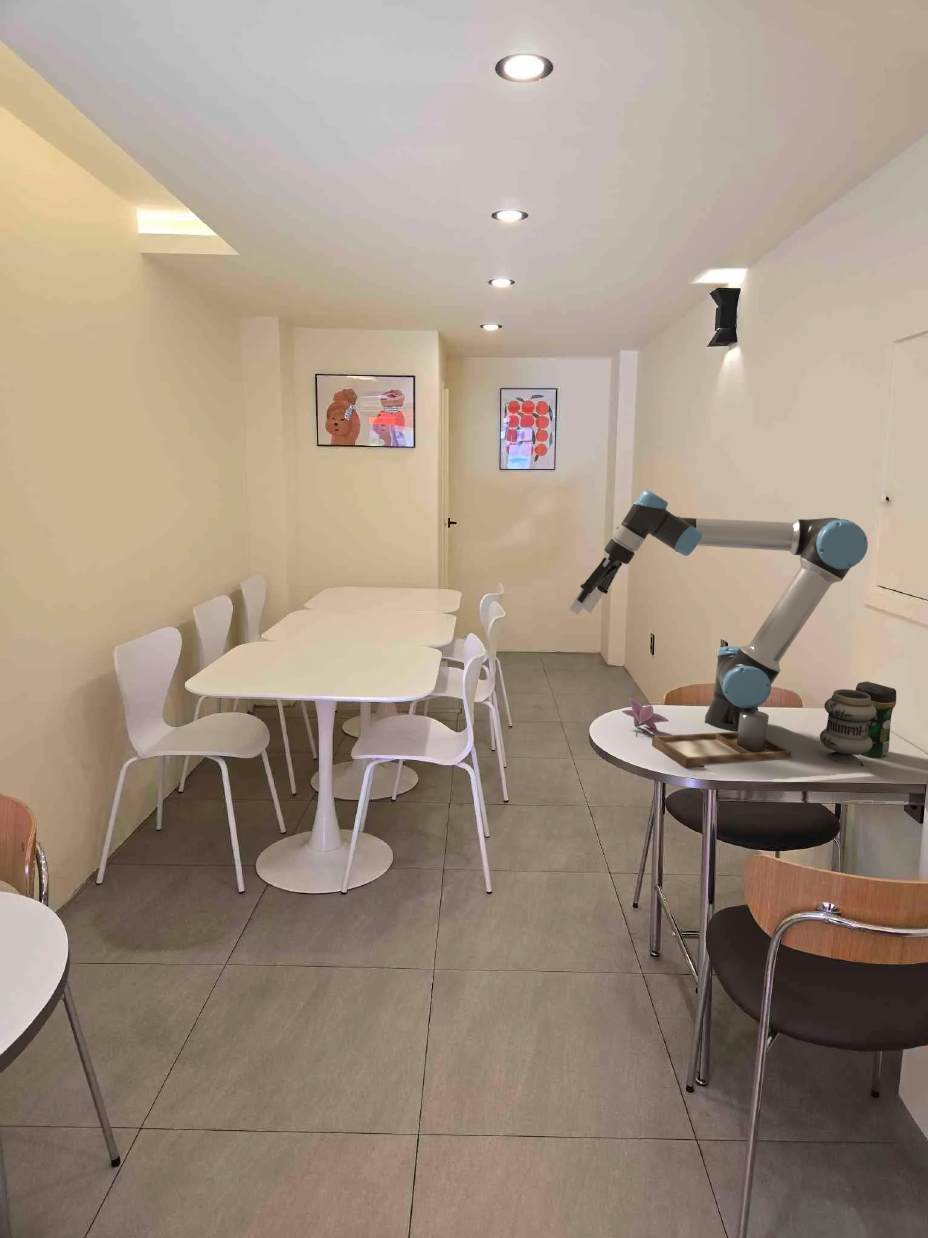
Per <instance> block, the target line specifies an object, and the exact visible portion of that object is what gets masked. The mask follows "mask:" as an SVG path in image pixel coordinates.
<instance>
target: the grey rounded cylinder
mask: <svg viewBox="0 0 928 1238" xmlns="http://www.w3.org/2000/svg"><path fill="white" fill-rule="evenodd" d="M768 725H769V714H768V713H765V712H764V711H759V710H758V711H755V710H743V711H740V717H739V726H738V735H737V745H738V746H740V747H742V748H744V749H745V750H747V751H750V752H762V751H764V750H765V744H766V739H767V735H768V734H767V733H768Z"/></svg>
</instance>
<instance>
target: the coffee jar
mask: <svg viewBox="0 0 928 1238" xmlns="http://www.w3.org/2000/svg"><path fill="white" fill-rule="evenodd" d="M855 690H856V691H860V692H864V693H867V694H868V695H870V697H871V704H872V705H873V706H874V707H875V709H876V715H875V717H874V718H872V719H870V722H869V730H868V736H869V737H870V738H871V740H872V748H871V749H870V750H869V751H868V752H866V753H863V754H862V755H864V754H865V756H867V757H871V756H872V758H882V757H881V756H883V757H885V756H887V755H889V752H890V735H891V723H892V722H891V721H892V716H893V711H894V709H895V707H896V705H897V690H896V689H895V688H893V687H890V686H886V685H882V684H879V683H874V682H871V681H867V680H866V681H862V682H859V683H857V685H856V687H855Z"/></svg>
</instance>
